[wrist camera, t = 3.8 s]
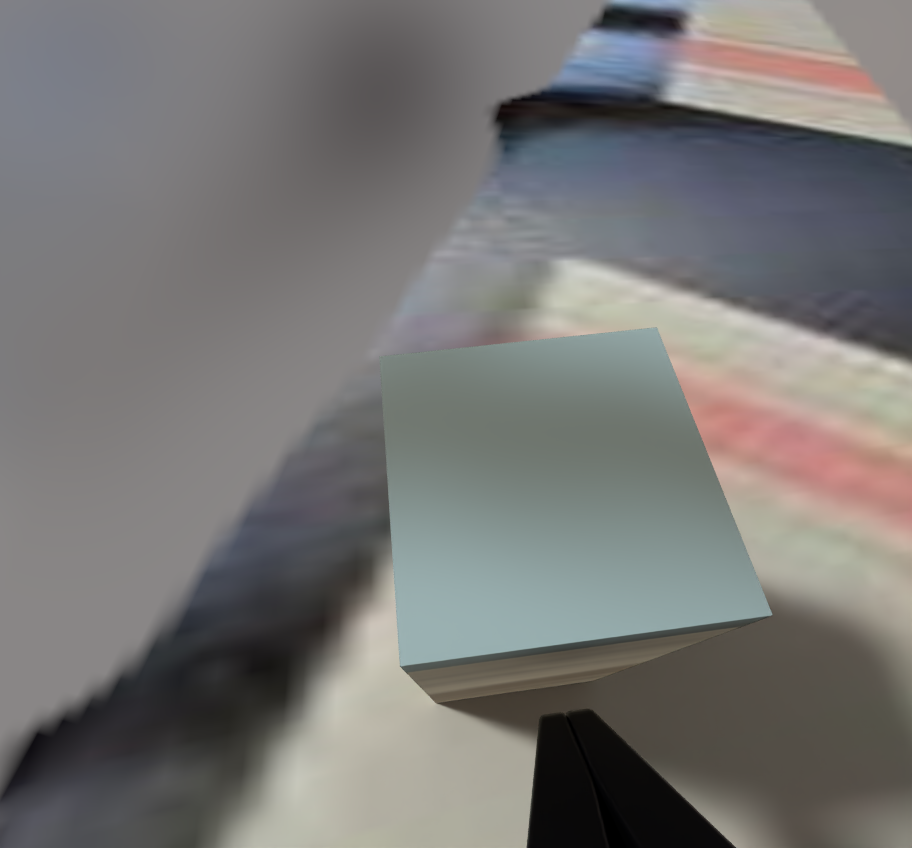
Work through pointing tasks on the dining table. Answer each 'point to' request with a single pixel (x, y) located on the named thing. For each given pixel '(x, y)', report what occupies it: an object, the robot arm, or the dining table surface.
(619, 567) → the beech block
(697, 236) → the dining table surface
